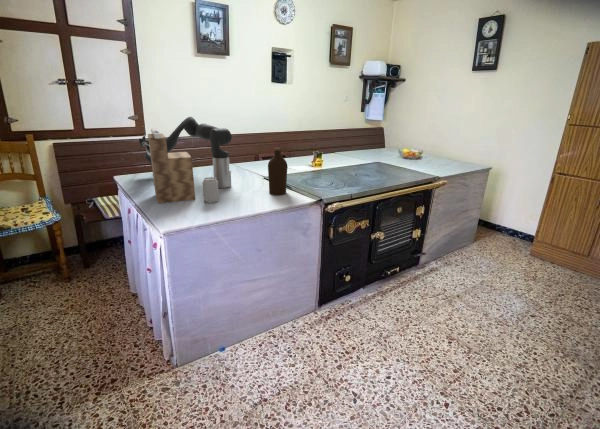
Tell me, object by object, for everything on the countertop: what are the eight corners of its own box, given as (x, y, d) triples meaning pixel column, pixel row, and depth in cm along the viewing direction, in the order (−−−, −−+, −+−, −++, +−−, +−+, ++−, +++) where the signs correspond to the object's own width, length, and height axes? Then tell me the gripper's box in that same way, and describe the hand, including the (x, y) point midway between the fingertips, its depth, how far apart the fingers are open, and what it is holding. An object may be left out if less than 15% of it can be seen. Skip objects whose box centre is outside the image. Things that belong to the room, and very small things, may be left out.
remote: (156, 131, 181) (156, 127, 180) (161, 138, 159) (160, 133, 158) (151, 131, 180) (150, 127, 179) (155, 138, 158) (154, 133, 157)
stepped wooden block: (190, 191, 191) (184, 132, 180) (195, 199, 177) (189, 136, 166) (155, 194, 183) (147, 133, 172) (158, 203, 170) (149, 138, 159)
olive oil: (275, 196, 184) (275, 150, 176) (264, 192, 192) (263, 147, 183) (291, 193, 191) (291, 148, 182) (279, 189, 198) (279, 145, 190)
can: (204, 203, 171) (202, 180, 167) (203, 199, 178) (202, 176, 174) (219, 203, 173) (218, 179, 169) (218, 198, 180) (217, 176, 175)
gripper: (166, 153, 204) (167, 143, 189) (140, 154, 198) (139, 144, 183) (165, 141, 205) (165, 130, 190) (138, 142, 199) (137, 130, 184)
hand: (153, 137), depth 186 cm, fingers open, 8 cm apart
